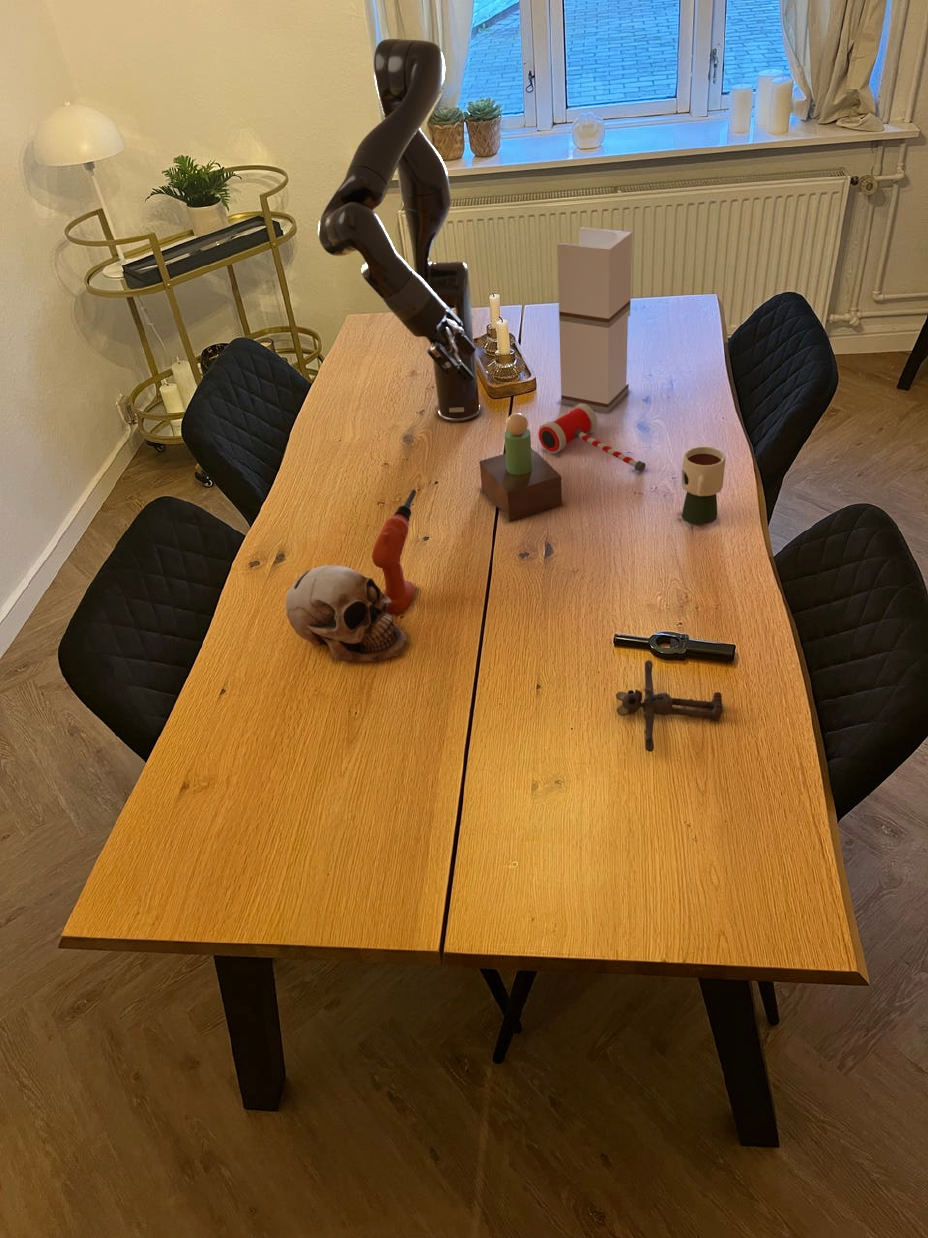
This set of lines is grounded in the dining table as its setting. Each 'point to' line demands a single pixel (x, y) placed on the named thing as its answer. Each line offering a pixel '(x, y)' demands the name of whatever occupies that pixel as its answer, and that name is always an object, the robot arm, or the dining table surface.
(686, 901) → the dining table surface
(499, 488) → the walnut block
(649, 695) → the bear figurine
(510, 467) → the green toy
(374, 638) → the coin bank
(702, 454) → the character mug
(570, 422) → the toy hammer
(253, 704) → the dining table surface
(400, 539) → the toy drill
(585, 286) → the beige tall block
